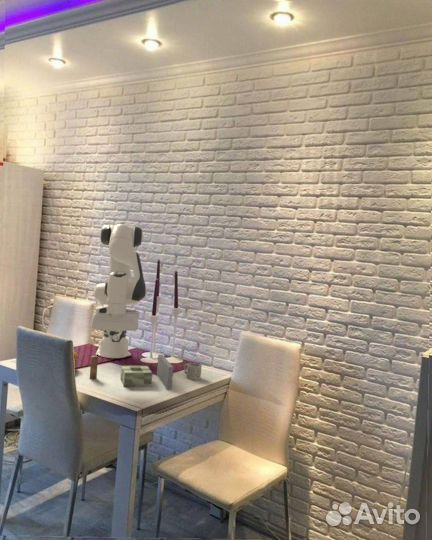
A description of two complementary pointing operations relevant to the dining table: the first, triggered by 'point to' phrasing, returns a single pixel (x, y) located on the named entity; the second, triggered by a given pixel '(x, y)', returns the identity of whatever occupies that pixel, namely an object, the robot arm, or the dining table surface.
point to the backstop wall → (165, 372)
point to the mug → (193, 371)
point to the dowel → (93, 367)
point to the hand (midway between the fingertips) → (113, 340)
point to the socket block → (136, 376)
